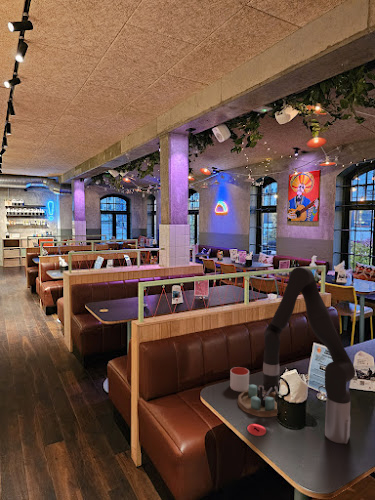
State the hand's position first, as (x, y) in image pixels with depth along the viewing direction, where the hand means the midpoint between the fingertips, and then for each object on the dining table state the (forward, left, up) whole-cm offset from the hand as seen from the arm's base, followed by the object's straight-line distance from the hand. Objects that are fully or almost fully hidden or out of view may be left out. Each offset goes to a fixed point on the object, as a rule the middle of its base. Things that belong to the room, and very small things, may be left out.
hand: (270, 404), depth 165 cm
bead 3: (0, 0, -3) cm, 3 cm away
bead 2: (+6, +3, -3) cm, 7 cm away
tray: (+6, -3, -4) cm, 8 cm away
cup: (+22, -12, -4) cm, 26 cm away
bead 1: (+12, -7, -3) cm, 14 cm away
